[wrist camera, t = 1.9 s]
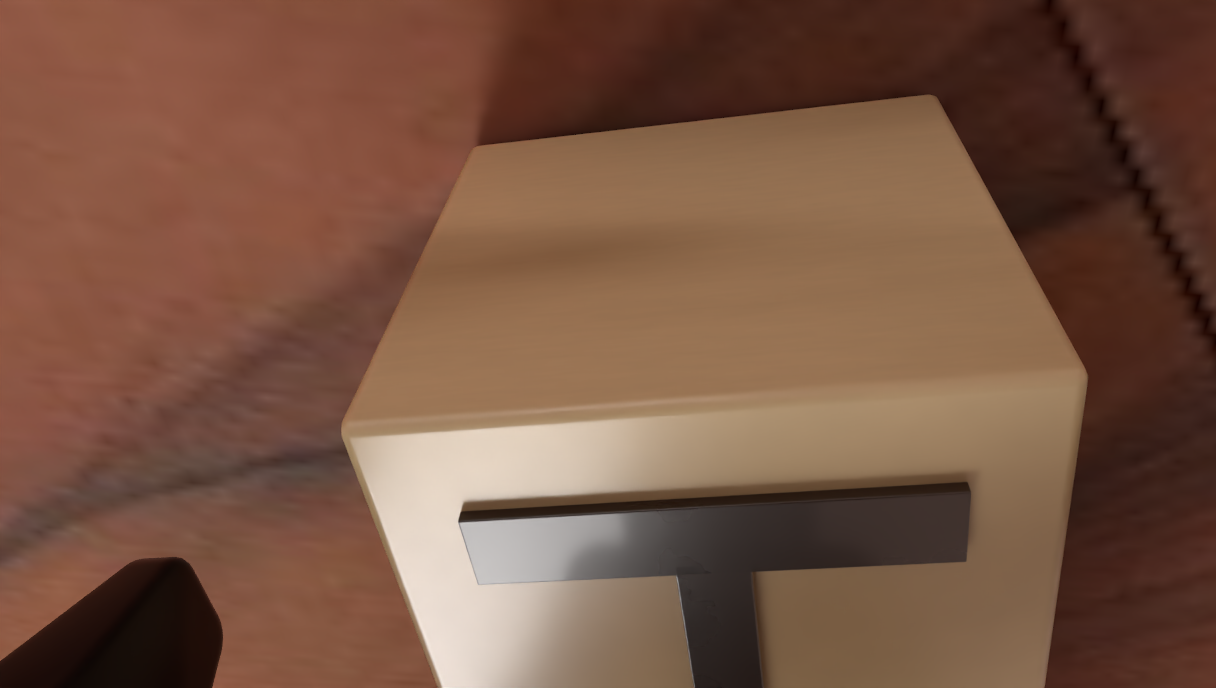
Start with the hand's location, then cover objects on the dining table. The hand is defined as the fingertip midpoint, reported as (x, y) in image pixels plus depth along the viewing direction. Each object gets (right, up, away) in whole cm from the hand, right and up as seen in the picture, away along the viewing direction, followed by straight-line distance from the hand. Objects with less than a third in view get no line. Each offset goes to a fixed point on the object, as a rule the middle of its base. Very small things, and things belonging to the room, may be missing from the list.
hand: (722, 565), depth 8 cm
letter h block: (0, +2, +3) cm, 4 cm away
